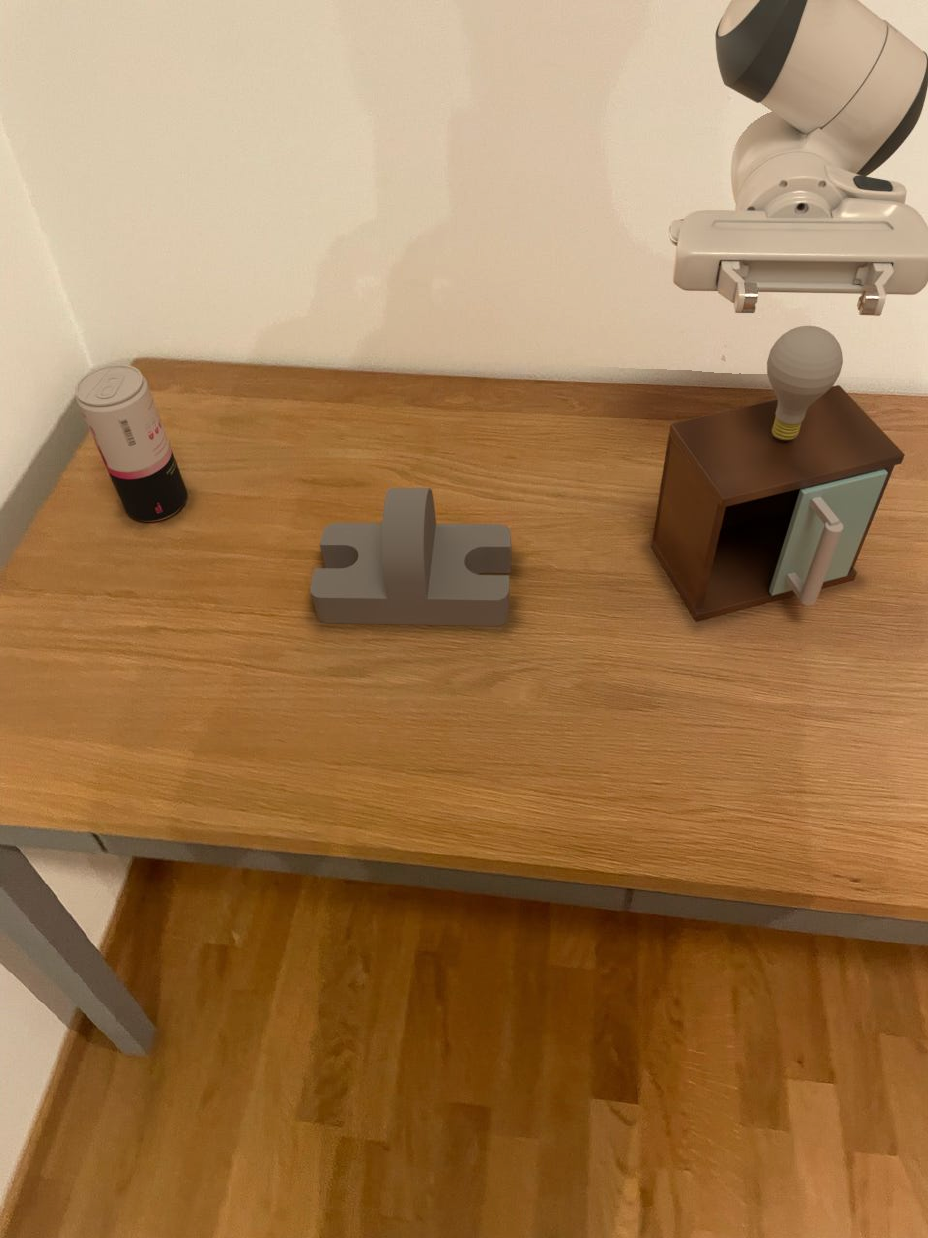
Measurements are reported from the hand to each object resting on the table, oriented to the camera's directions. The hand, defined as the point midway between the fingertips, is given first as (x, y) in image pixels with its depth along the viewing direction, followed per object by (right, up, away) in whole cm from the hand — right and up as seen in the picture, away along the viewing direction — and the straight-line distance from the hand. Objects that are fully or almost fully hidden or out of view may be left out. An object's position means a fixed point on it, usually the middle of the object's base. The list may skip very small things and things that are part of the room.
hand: (809, 306), depth 71 cm
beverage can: (-59, -12, +26) cm, 66 cm away
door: (+5, -22, +12) cm, 26 cm away
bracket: (-31, -21, +17) cm, 41 cm away
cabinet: (+1, -19, +17) cm, 25 cm away
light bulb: (0, -9, +5) cm, 11 cm away
